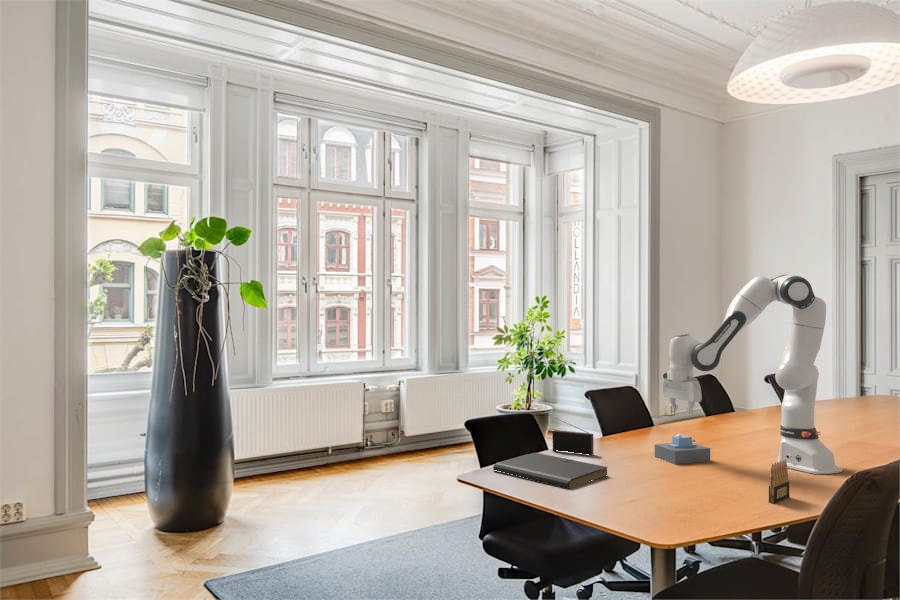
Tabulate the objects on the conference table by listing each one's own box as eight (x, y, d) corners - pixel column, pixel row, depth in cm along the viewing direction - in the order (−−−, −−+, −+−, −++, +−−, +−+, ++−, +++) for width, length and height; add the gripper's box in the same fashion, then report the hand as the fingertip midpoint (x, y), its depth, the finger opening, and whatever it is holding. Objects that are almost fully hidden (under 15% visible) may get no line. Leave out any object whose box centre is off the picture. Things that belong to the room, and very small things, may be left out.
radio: (593, 454, 270) (593, 417, 270) (591, 456, 267) (591, 418, 267) (550, 449, 279) (550, 414, 279) (548, 451, 276) (547, 415, 277)
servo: (700, 457, 261) (700, 434, 261) (674, 460, 257) (674, 436, 257) (693, 455, 265) (693, 432, 265) (668, 457, 261) (667, 434, 261)
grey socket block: (710, 461, 257) (710, 448, 257) (674, 464, 252) (674, 451, 252) (688, 454, 269) (688, 441, 269) (654, 456, 265) (654, 444, 265)
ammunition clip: (783, 496, 210) (783, 458, 210) (789, 497, 208) (789, 459, 208) (768, 502, 203) (768, 463, 203) (774, 504, 201) (774, 464, 201)
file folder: (608, 465, 235) (567, 479, 219) (608, 477, 236) (567, 492, 219) (534, 451, 259) (493, 462, 242) (535, 462, 259) (493, 474, 242)
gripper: (705, 377, 252) (706, 414, 252) (672, 373, 272) (673, 407, 271) (691, 378, 250) (692, 415, 250) (659, 373, 270) (659, 407, 270)
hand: (681, 411), depth 261 cm, fingers open, 8 cm apart
